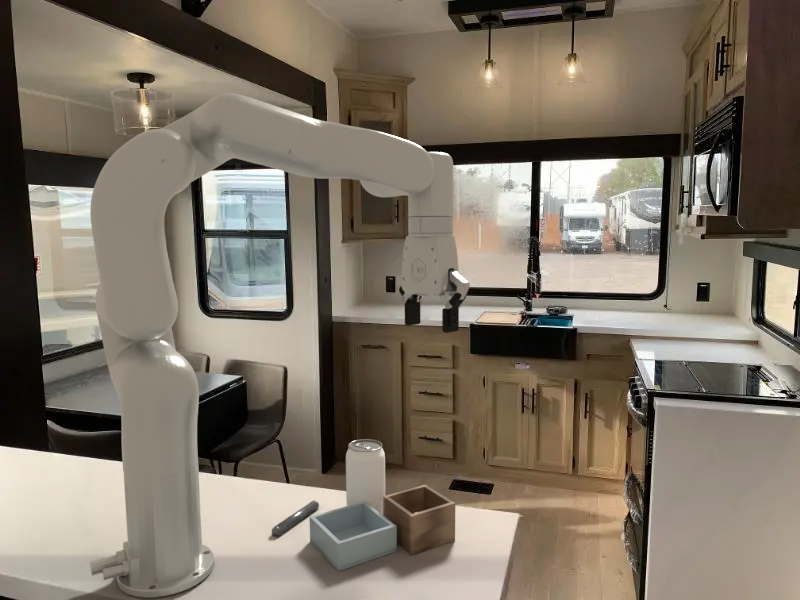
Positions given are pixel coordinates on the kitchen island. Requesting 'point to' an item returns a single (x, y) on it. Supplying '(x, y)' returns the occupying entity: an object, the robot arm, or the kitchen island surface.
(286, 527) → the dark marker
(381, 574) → the kitchen island surface
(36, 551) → the kitchen island surface
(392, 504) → the walnut box
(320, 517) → the light blue tray
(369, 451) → the can
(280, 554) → the kitchen island surface
